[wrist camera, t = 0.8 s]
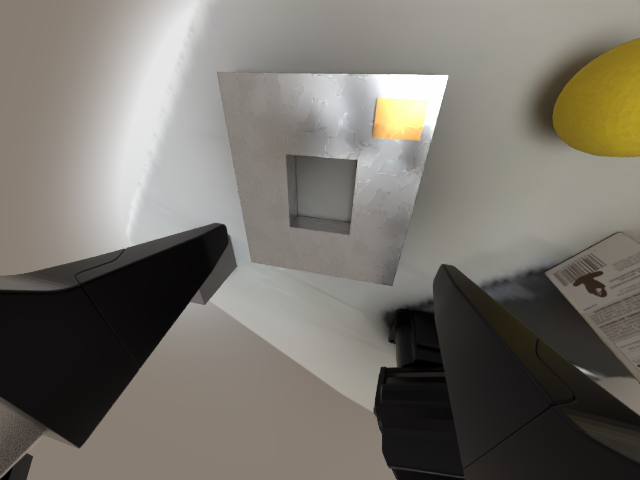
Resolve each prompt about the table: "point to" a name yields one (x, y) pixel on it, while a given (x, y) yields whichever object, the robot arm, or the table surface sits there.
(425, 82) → the socket plate
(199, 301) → the plug
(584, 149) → the lemon
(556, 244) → the table surface
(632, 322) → the coffee box
